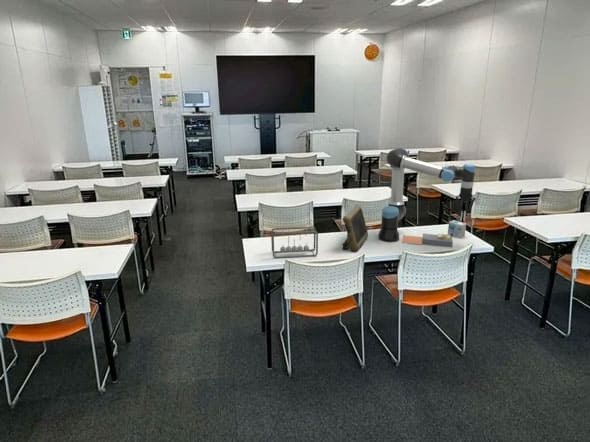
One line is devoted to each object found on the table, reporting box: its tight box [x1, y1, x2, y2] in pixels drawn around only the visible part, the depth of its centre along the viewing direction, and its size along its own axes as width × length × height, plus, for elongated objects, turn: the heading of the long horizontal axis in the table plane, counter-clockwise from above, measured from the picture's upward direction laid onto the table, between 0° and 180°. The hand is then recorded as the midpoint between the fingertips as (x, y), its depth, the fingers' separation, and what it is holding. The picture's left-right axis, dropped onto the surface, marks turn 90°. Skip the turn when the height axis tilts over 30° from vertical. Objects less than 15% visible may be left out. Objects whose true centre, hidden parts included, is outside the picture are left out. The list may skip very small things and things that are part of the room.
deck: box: [422, 233, 454, 248], centre depth 287 cm, size 20×12×4 cm, turn 72°
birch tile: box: [436, 233, 450, 240], centre depth 285 cm, size 8×6×2 cm
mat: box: [401, 234, 423, 246], centre depth 292 cm, size 14×16×1 cm
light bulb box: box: [446, 219, 467, 239], centre depth 299 cm, size 11×7×11 cm, turn 43°
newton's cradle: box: [270, 226, 319, 259], centre depth 266 cm, size 30×10×18 cm, turn 97°
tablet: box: [342, 204, 369, 253], centre depth 283 cm, size 33×14×25 cm, turn 161°
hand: (462, 220), depth 277 cm, fingers closed
